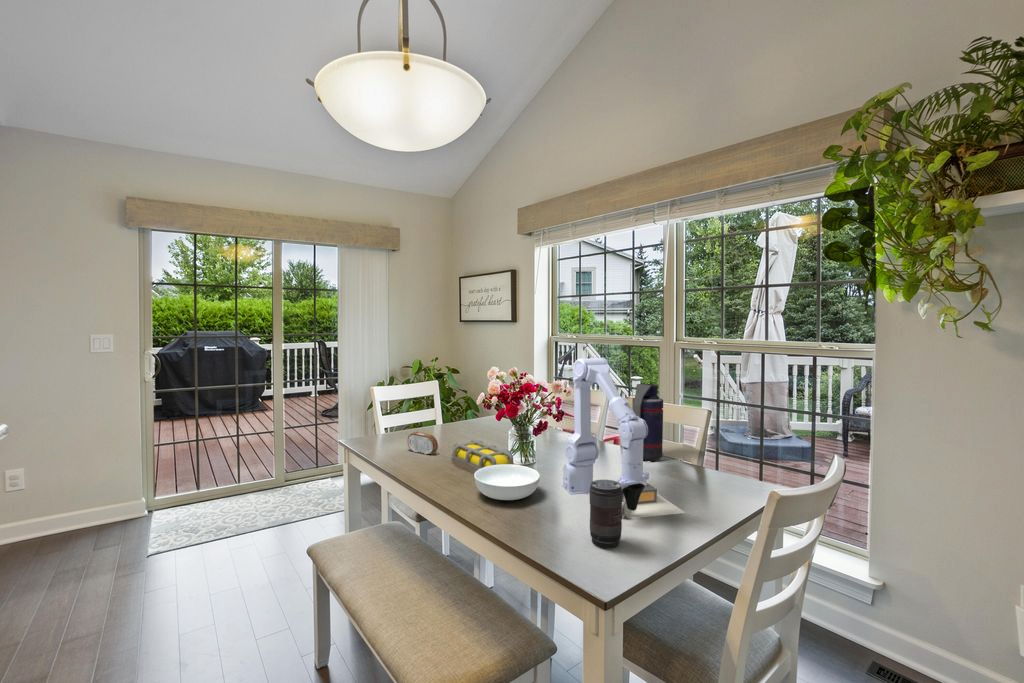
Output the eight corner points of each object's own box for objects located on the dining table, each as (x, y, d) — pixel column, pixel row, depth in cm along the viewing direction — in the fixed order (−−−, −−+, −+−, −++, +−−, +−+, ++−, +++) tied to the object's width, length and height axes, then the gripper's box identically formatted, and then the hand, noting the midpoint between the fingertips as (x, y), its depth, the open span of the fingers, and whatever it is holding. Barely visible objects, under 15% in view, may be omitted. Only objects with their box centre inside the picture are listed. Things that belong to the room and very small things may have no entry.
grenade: (643, 452, 202) (644, 381, 200) (668, 458, 192) (669, 384, 191) (622, 458, 193) (623, 384, 191) (647, 465, 184) (648, 387, 182)
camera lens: (617, 534, 125) (617, 478, 124) (625, 549, 117) (626, 489, 116) (586, 535, 125) (586, 478, 124) (592, 550, 117) (593, 489, 116)
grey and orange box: (623, 505, 144) (623, 490, 143) (614, 498, 149) (614, 483, 149) (656, 502, 146) (657, 487, 146) (646, 495, 152) (647, 480, 152)
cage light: (475, 436, 196) (522, 453, 173) (475, 455, 196) (522, 474, 173) (444, 442, 187) (489, 460, 164) (444, 462, 187) (489, 483, 164)
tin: (438, 455, 197) (438, 434, 197) (433, 456, 194) (433, 436, 194) (411, 449, 205) (411, 430, 205) (406, 451, 202) (406, 431, 202)
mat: (628, 519, 134) (628, 518, 134) (604, 498, 150) (604, 497, 150) (685, 513, 138) (685, 512, 138) (656, 493, 154) (656, 492, 154)
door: (624, 504, 144) (624, 492, 144) (628, 505, 144) (628, 492, 143) (620, 518, 134) (620, 504, 134) (624, 518, 134) (624, 505, 134)
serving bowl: (486, 512, 139) (486, 489, 139) (466, 488, 159) (466, 468, 158) (551, 502, 147) (551, 480, 147) (523, 480, 166) (523, 461, 166)
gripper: (630, 470, 128) (629, 520, 128) (658, 459, 137) (657, 506, 138) (608, 464, 133) (607, 513, 133) (637, 454, 143) (636, 499, 143)
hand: (631, 509), depth 136 cm, fingers closed
